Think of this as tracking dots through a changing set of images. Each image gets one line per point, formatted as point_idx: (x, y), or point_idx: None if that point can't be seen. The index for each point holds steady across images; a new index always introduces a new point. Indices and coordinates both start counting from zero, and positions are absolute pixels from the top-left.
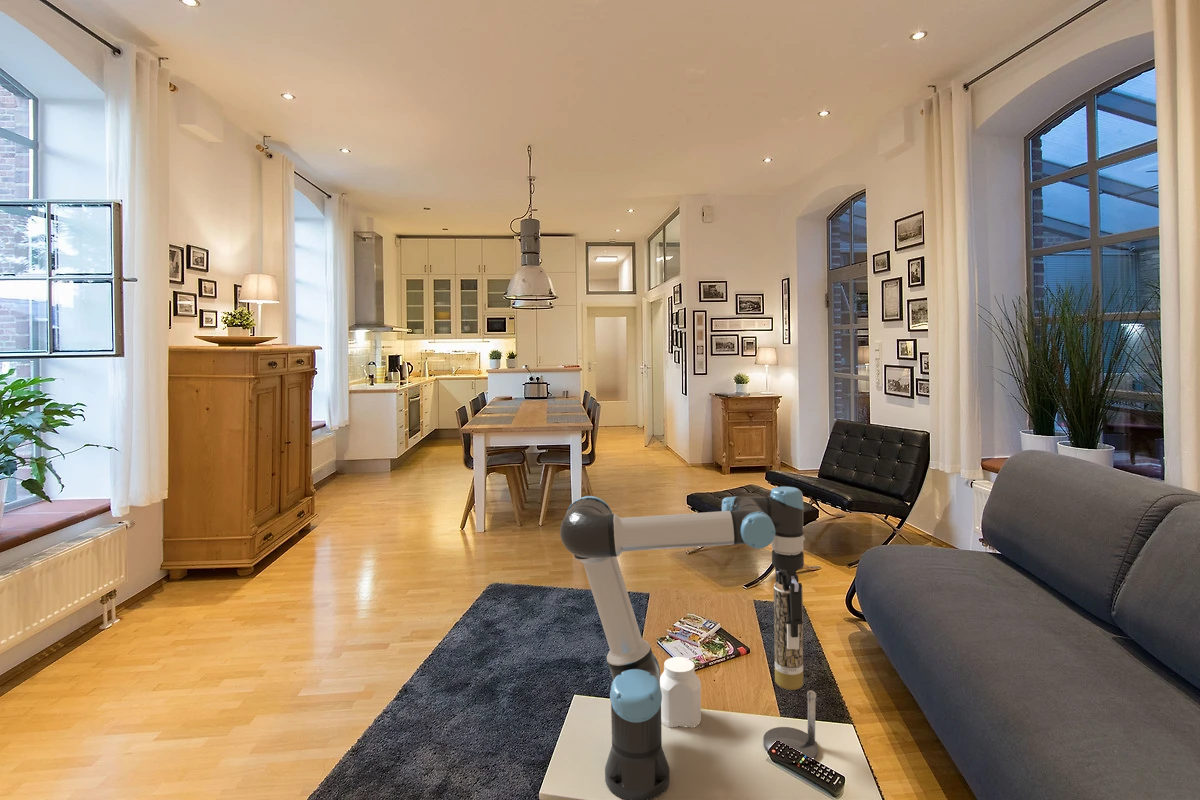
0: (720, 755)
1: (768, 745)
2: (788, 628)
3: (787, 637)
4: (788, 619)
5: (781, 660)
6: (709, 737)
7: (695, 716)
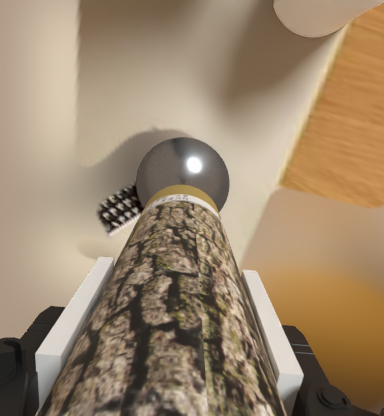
0: (176, 40)
1: (179, 143)
2: (53, 327)
3: (89, 286)
4: (18, 383)
5: (145, 216)
6: (234, 35)
7: (283, 5)
